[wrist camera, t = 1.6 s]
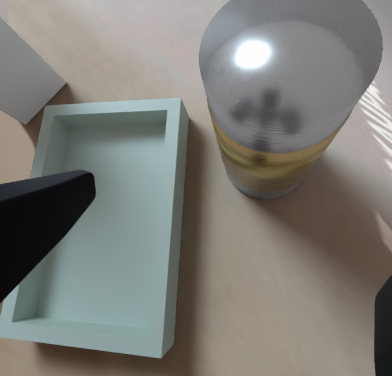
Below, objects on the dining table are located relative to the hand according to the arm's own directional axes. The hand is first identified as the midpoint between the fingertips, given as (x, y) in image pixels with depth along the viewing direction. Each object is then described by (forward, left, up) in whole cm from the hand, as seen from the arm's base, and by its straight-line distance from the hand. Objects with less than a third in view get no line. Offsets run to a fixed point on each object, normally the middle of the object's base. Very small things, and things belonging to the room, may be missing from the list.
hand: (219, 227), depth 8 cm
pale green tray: (+2, +10, -13) cm, 17 cm away
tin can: (+7, -2, -13) cm, 15 cm away
